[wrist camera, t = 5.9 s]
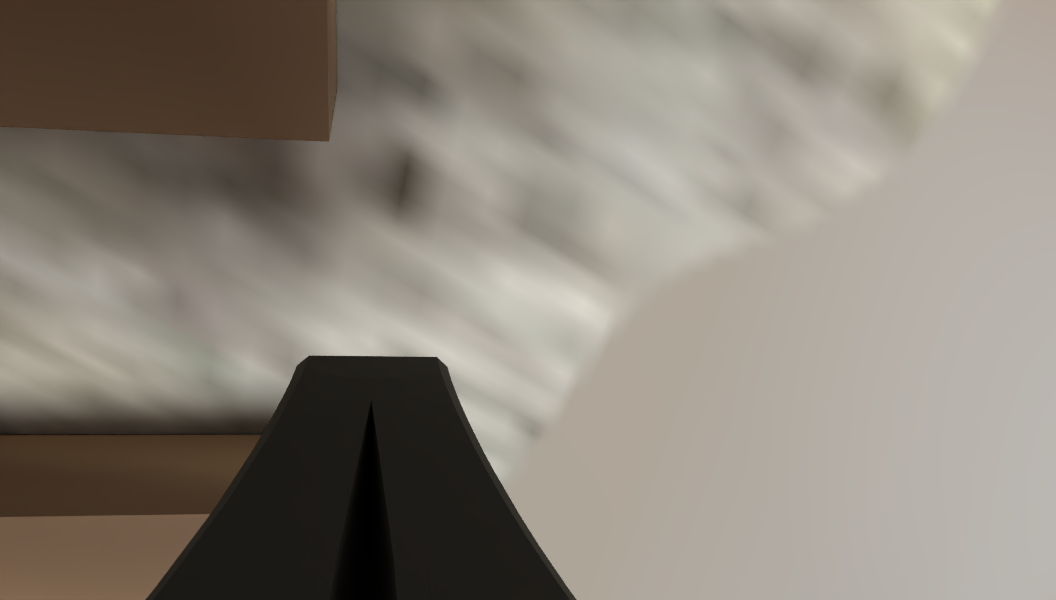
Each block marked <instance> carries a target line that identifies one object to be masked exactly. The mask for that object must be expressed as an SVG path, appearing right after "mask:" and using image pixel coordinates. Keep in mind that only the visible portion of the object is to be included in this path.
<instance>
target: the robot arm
mask: <svg viewBox="0 0 1056 600" xmlns="http://www.w3.org/2000/svg"><path fill="white" fill-rule="evenodd" d="M145 600H576V599H575V597H574V596H573V594H572V593H571V592H570V590H569V589H568V587H567V586H566V585H565V583H564V582H563V580H562V579H561V577H560V576H559V574H558V573H557V571H556V570H555V569H554V567H553V566H552V564H551V563H550V561H549V560H548V558H547V557H546V555H545V554H544V552H543V551H542V549H541V548H540V547H539V545H538V543H537V542H536V540H535V539H534V537H533V536H532V534H531V532H530V531H529V529H528V528H527V526H526V524H525V523H524V521H523V520H522V518H521V516H520V515H519V513H518V512H517V510H516V508H515V506H514V504H513V503H512V501H511V499H510V498H509V496H508V494H507V493H506V491H505V489H504V487H503V486H502V484H501V482H500V481H499V479H498V477H497V475H496V474H495V472H494V470H493V468H492V467H491V465H490V463H489V461H488V459H487V457H486V455H485V454H484V452H483V450H482V448H481V446H480V444H479V442H478V440H477V438H476V436H475V434H474V432H473V430H472V428H471V426H470V424H469V422H468V419H467V417H466V415H465V413H464V411H463V408H462V406H461V404H460V401H459V399H458V397H457V394H456V392H455V389H454V386H453V384H452V381H451V378H450V375H449V371H448V368H447V366H446V365H445V364H444V363H442V362H441V361H440V360H439V359H438V358H437V357H383V356H308V357H307V358H306V359H304V360H303V361H302V362H301V363H300V364H298V365H297V367H296V369H295V372H294V374H293V377H292V379H291V381H290V384H289V386H288V388H287V390H286V392H285V394H284V396H283V398H282V400H281V402H280V403H279V405H278V407H277V409H276V411H275V413H274V414H273V416H272V418H271V420H270V422H269V423H268V425H267V427H266V428H265V430H264V432H263V433H262V435H261V437H260V439H259V440H258V442H257V444H256V445H255V447H254V449H253V450H252V452H251V453H250V455H249V456H248V458H247V459H246V461H245V463H244V464H243V466H242V467H241V469H240V470H239V472H238V473H237V475H236V476H235V478H234V479H233V481H232V482H231V484H230V485H229V487H228V488H227V490H226V491H225V493H224V494H223V496H222V498H221V499H220V501H219V502H218V504H217V505H216V507H215V508H214V509H213V511H212V512H211V514H210V515H209V516H208V518H207V519H206V521H205V522H204V523H203V525H202V526H201V527H200V529H199V530H198V531H197V533H196V534H195V535H194V537H193V538H192V539H191V541H190V542H189V543H188V545H187V546H186V547H185V549H184V550H183V551H182V553H181V554H180V555H179V557H178V558H177V559H176V561H175V562H174V563H173V565H172V566H171V567H170V569H169V570H168V571H167V572H166V574H165V575H164V576H163V578H162V579H161V580H160V582H159V583H158V584H157V586H156V587H155V588H154V590H153V591H152V592H151V593H150V595H149V596H148V597H147V598H146V599H145Z"/></svg>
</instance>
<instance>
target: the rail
mask: <svg viewBox="0 0 1056 600" xmlns="http://www.w3.org/2000/svg"><path fill="white" fill-rule="evenodd" d="M336 93H337V25H336V0H0V126H2V127H24V128H46V129H67V130H89V131H111V132H133V133H154V134H176V135H198V136H219V137H241V138H263V139H285V140H306V141H328V142H329V138H330V132H331V125H332V119H333V112H334V106H335V99H336ZM260 437H261V435H0V600H145V599H146V598H147V597H148V596H149V595H150V593H151V592H152V591H153V590H154V588H155V587H156V586H157V584H158V583H159V582H160V580H161V579H162V578H163V576H164V575H165V574H166V572H167V571H168V570H169V569H170V567H171V566H172V565H173V563H174V562H175V561H176V559H177V558H178V557H179V555H180V554H181V553H182V551H183V550H184V549H185V547H186V546H187V545H188V543H189V542H190V541H191V539H192V538H193V537H194V535H195V534H196V533H197V531H198V530H199V529H200V527H201V526H202V525H203V523H204V522H205V521H206V519H207V518H208V516H209V515H210V514H211V512H212V511H213V509H214V508H215V507H216V505H217V504H218V502H219V501H220V499H221V498H222V496H223V494H224V493H225V491H226V490H227V488H228V487H229V485H230V484H231V482H232V481H233V479H234V478H235V476H236V475H237V473H238V472H239V470H240V469H241V467H242V466H243V464H244V463H245V461H246V459H247V458H248V456H249V455H250V453H251V452H252V450H253V449H254V447H255V445H256V444H257V442H258V440H259V439H260Z"/></svg>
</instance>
